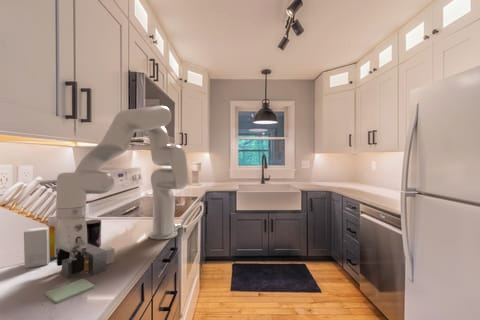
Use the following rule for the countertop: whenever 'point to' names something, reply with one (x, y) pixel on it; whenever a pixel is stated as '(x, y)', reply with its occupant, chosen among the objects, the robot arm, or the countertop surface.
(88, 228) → the supplement container
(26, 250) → the skincare box
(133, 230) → the countertop surface
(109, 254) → the plug
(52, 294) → the mat
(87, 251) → the block
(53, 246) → the beer can
